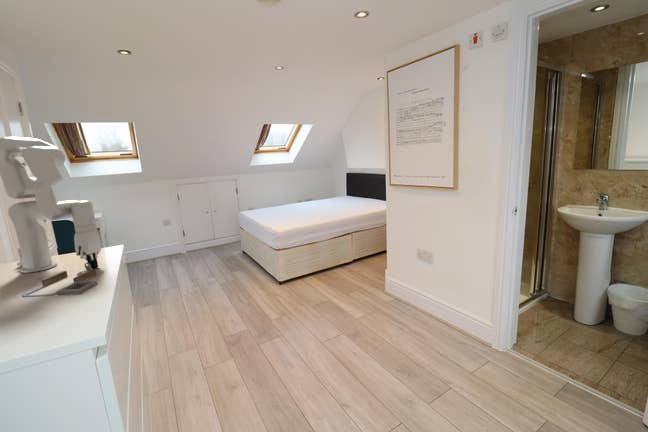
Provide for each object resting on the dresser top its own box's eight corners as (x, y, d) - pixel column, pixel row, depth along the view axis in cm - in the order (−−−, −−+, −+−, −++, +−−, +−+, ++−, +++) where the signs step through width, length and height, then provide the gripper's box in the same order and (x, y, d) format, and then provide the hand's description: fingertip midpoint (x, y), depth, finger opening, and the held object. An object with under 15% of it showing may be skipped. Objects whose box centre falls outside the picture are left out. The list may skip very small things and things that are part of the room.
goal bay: (19, 297, 109) (19, 296, 109) (42, 286, 118) (42, 286, 118) (52, 295, 109) (52, 294, 109) (73, 285, 118) (73, 284, 118)
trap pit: (57, 295, 109) (56, 291, 109) (77, 285, 118) (76, 281, 117) (79, 294, 109) (78, 290, 109) (97, 284, 118) (97, 280, 117)
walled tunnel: (42, 285, 119) (41, 279, 118) (64, 276, 128) (62, 270, 128) (78, 284, 119) (76, 278, 118) (96, 274, 128) (95, 269, 128)
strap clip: (81, 276, 129) (79, 266, 128) (76, 275, 129) (74, 266, 129) (100, 269, 137) (99, 260, 136) (95, 268, 138) (93, 259, 137)
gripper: (89, 225, 140) (97, 263, 143) (63, 232, 125) (71, 274, 128) (106, 224, 140) (112, 262, 143) (81, 231, 125) (89, 273, 129)
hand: (93, 267), depth 136 cm, fingers closed
